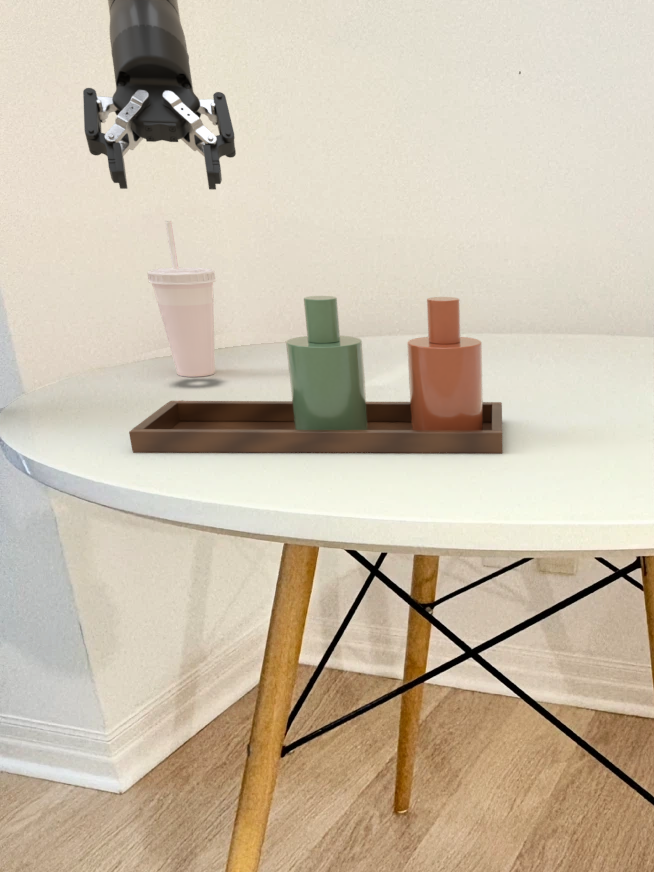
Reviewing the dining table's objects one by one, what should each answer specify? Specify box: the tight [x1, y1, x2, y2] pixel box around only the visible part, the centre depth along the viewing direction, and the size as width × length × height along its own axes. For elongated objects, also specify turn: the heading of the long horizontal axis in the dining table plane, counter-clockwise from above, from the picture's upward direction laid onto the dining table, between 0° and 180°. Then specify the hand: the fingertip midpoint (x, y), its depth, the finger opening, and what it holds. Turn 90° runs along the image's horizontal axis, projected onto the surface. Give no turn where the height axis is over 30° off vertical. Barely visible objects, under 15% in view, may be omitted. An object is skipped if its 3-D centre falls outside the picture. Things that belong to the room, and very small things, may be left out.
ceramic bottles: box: [285, 295, 484, 430], centre depth 76 cm, size 15×6×10 cm, turn 92°
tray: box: [128, 400, 503, 455], centre depth 78 cm, size 27×11×2 cm, turn 92°
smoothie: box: [146, 220, 217, 378], centre depth 99 cm, size 6×6×14 cm
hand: (167, 182), depth 100 cm, fingers open, 8 cm apart
